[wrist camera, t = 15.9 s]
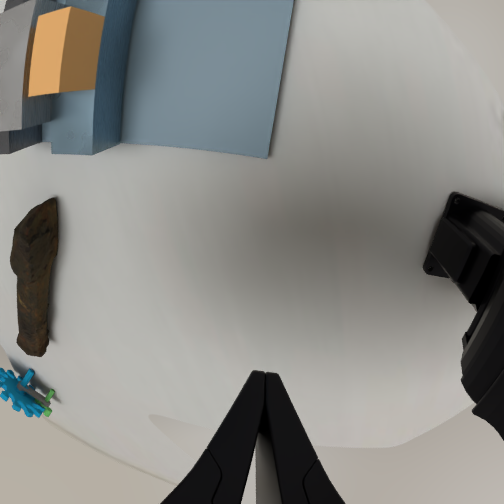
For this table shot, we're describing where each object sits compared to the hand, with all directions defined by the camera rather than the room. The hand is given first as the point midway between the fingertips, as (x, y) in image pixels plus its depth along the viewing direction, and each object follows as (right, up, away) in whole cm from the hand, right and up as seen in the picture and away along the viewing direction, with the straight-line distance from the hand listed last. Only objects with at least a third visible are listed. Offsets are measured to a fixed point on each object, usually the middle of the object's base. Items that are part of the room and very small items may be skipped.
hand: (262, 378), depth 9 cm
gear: (-35, -16, +26) cm, 46 cm away
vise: (-8, +16, +6) cm, 19 cm away
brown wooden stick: (-21, +2, +15) cm, 26 cm away
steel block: (-12, +16, +5) cm, 21 cm away
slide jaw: (-9, +16, +4) cm, 19 cm away
